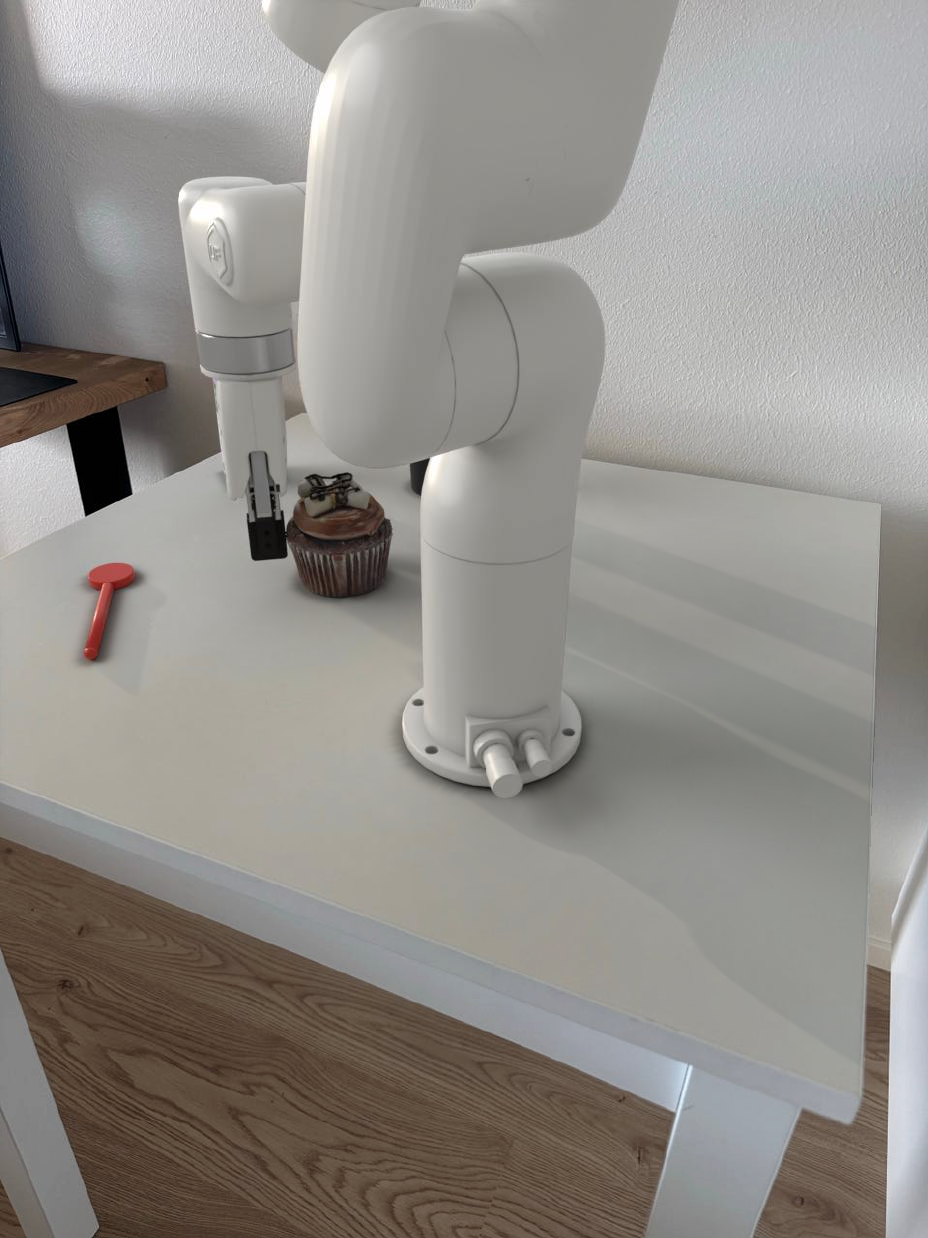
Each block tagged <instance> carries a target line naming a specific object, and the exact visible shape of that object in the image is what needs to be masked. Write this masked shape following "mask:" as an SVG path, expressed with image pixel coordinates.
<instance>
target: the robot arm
mask: <svg viewBox="0 0 928 1238" xmlns="http://www.w3.org/2000/svg"><path fill="white" fill-rule="evenodd" d="M421 3H422V0H261V8H262V12H263V15H264V18H265V21H266V23H267V24H268V25H267V26H268V27H269V29H271V31H272V33H273V34H274V35H275V37H276V38H277V39H278V40H279V41H280V42H281V43H282V45H284V47H286V48H287V49H288V50H289V51H290V52H292V53H293V54H294V55H295V56H297V57H298V58H299V59H301V60H302V61H303V62H305V63H307V64H308V65H310V66H311V67H313V68H314V69H316V70H317V71H319V72H321V73H323V74H324V76H323V78H322V80H321V83H320V85H319V88H318V92H317V95H316V100H315V103H314V106H313V111H312V112H313V113H312V118H311V124H310V133H309V134H310V135H309V143H308V154H307V166H306V181H299V182H286V183H282V184H281V183H280V184H273V183H272V182H271V181H268V180H266V179H263V178H259V177H250V176H233V175H231V176H227V175H226V176H208V177H202V178H195V179H192V180H190V181H188V182H186V183H184V184H183V186H182V187H181V189H180V190H179V195H178V200H177V203H178V215H179V223H180V228H181V236H182V242H183V243H182V244H183V250H184V257H185V258H184V259H185V267H186V272H187V273H186V275H187V280H188V287H189V294H190V302H191V309H192V316H193V323H194V330H195V337H196V345H197V352H198V360H199V368H200V372H201V374H202V375H204V376H205V377H208V378H210V379H212V380H213V379H216V398H217V409H218V418H219V426H220V435H221V443H222V450H223V458H224V466H225V473H224V475H225V482H226V491H227V493H226V494H227V497H228V499H230V500H231V501H233V502H234V501H235V502H236V501H237V499H243V498H244V495H245V497H246V504H247V511H248V512H246V525H247V533H248V541H249V550H250V557H251V560H252V561H253V562H260V561H261V562H262V561H271V560H272V561H273V560H284V559H287V558H288V556H289V551H288V542H287V540H286V521H285V513H284V509H282V508H281V500H280V499H281V498H282V497H284V496H285V495H286V494H287V493H288V446H287V445H288V440H287V439H288V438H287V421H286V409H285V396H284V395H285V394H284V384H283V377H284V376H286V375H289V374H291V373H293V372H294V371H295V370H296V368H297V370H298V381H299V386H300V393H301V397H302V402H303V404H304V408H305V411H306V414H307V416H308V419H309V422H310V424H311V426H312V428H313V430H314V431H315V434H316V435H317V436H318V438H319V439H320V441H321V442H322V443H323V445H324V446H325V447H326V448H327V449H328V450H329V451H330V452H331V453H332V454H333V455H335V456H336V457H337V458H339V459H341V460H342V461H344V462H346V463H348V464H350V465H353V466H355V467H359V468H365V469H372V470H373V469H375V470H376V469H378V470H379V469H380V470H381V469H391V468H392V469H393V468H396V467H401V466H406V465H410V464H411V463H414V462H418V461H421V460H424V459H428V458H430V461H429V464H428V467H427V470H426V474H425V478H424V483H423V487H422V494H421V495H420V503H419V504H420V506H419V507H420V508H419V509H420V510H419V524H420V525H419V526H420V527H419V535H420V536H419V539H420V541H419V542H420V575H421V576H420V581H421V582H420V584H421V585H420V587H421V625H422V626H421V629H422V630H421V631H422V672H423V673H422V675H423V686H422V687H421V688H419V689H418V690H417V691H416V692H415V693H413V695H412V696H411V697H410V699H409V700H408V701H407V702H406V705H405V708H404V710H403V712H402V722H401V726H402V735H403V736H402V738H403V742H404V743H405V746H406V748H407V750H408V751H409V752H410V754H411V755H412V756H413V758H414V759H415V760H416V761H417V762H419V764H421V765H422V766H423V767H424V768H425V769H427V770H429V771H430V772H432V773H434V774H436V775H438V776H440V777H443V778H445V779H447V780H450V781H453V782H456V783H460V784H465V785H469V786H475V787H489V788H491V791H492V793H493V795H494V796H495V797H496V798H499V799H500V800H501V799H502V800H506V799H507V800H508V799H509V800H510V799H512V798H513V797H516V796H517V795H519V794H520V792H522V789H523V787H524V785H525V784H528V783H531V782H534V781H538V780H541V779H544V778H545V777H547V776H549V775H552V774H553V773H556V772H558V770H560V769H562V768H563V767H564V766H565V765H566V764H568V763H569V762H570V760H571V759H572V758H573V757H574V755H575V754H576V752H577V750H578V748H579V746H580V743H581V737H582V730H583V729H582V725H583V724H582V717H581V713H580V711H579V708H578V706H577V705H576V704H575V702H574V700H573V699H572V698H571V697H570V696H569V695H568V694H567V693H566V692H565V691H563V675H564V661H565V650H566V649H565V648H566V635H567V622H568V621H567V620H568V609H569V608H568V607H569V593H570V580H571V565H572V555H573V554H572V553H573V552H572V551H573V539H574V536H575V525H576V524H575V523H576V511H577V500H578V491H579V490H578V489H579V481H580V473H581V464H582V458H583V453H584V448H585V443H586V438H587V435H588V430H589V428H590V427H589V426H590V423H591V419H592V415H593V412H594V409H595V404H596V401H597V398H598V395H599V390H600V386H601V381H602V376H603V370H604V364H605V358H606V356H605V355H606V354H605V353H606V330H605V322H604V319H603V314H602V310H601V308H600V307H601V306H600V305H599V302H598V300H597V297H596V295H595V294H594V292H593V291H592V289H591V287H590V285H589V284H588V283H587V282H586V281H585V279H584V278H583V277H582V276H581V275H580V274H579V273H578V272H577V271H576V270H574V269H573V268H572V267H570V266H569V265H568V264H566V263H564V262H562V261H561V260H558V259H556V258H554V257H551V256H548V255H543V254H541V253H533V252H523V251H522V252H521V251H513V252H512V251H511V252H498V253H497V252H496V253H490V254H483V255H482V254H481V255H476V256H468V257H464V256H465V255H470V254H478V253H482V252H490V251H497V250H505V249H512V248H519V247H525V246H532V245H538V244H545V243H549V242H554V241H559V240H563V239H568V238H572V237H575V236H578V235H581V234H585V233H587V232H588V231H589V230H592V229H594V228H596V227H597V226H599V224H600V223H602V222H603V221H604V220H605V219H606V218H607V217H608V216H609V215H610V214H611V213H612V212H613V210H614V209H615V207H616V206H617V204H618V202H619V200H620V198H621V196H622V194H623V191H624V189H625V187H626V184H627V181H628V179H629V175H630V174H631V170H632V167H633V164H634V161H635V158H636V154H637V151H638V147H639V144H640V140H641V137H642V133H643V129H644V127H645V123H646V120H647V116H648V113H649V110H650V105H651V101H652V98H653V96H654V91H655V88H656V84H657V81H658V78H659V74H660V70H661V66H662V64H663V60H664V56H665V53H666V49H667V46H668V43H669V39H670V35H671V32H672V28H673V25H674V22H675V18H676V16H677V15H676V14H677V11H678V8H679V4H680V0H476V1H475V2H474V5H473V6H472V7H471V8H470V9H463V8H450V7H449V8H448V7H435V6H434V7H433V6H421ZM296 302H298V316H297V340H296V341H297V349H295V338H294V337H295V336H294V326H293V324H294V323H293V322H294V321H293V310H292V309H293V308H292V303H296ZM296 350H297V351H296ZM296 352H297V353H296ZM296 355H297V356H296ZM296 357H297V358H296ZM296 359H297V360H296ZM281 509H282V510H281Z"/></svg>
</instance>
